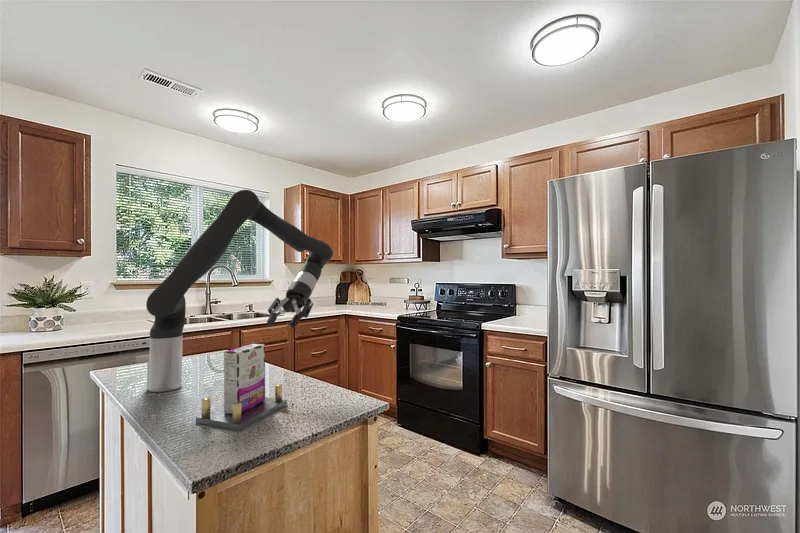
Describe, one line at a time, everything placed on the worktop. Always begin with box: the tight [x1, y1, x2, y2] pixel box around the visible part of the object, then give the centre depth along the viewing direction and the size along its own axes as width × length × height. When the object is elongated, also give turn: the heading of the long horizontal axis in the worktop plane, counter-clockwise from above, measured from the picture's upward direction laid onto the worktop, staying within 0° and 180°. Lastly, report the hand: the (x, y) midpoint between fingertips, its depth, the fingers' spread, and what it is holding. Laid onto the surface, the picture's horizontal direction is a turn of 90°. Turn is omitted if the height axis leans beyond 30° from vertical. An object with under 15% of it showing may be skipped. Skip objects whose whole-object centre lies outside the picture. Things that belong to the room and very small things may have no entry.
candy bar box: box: [223, 343, 266, 414], centre depth 100 cm, size 11×5×16 cm, turn 164°
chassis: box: [195, 383, 288, 432], centre depth 99 cm, size 14×18×6 cm
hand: (280, 325), depth 113 cm, fingers open, 8 cm apart
